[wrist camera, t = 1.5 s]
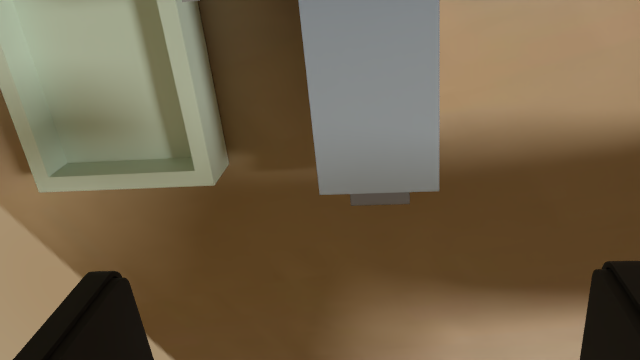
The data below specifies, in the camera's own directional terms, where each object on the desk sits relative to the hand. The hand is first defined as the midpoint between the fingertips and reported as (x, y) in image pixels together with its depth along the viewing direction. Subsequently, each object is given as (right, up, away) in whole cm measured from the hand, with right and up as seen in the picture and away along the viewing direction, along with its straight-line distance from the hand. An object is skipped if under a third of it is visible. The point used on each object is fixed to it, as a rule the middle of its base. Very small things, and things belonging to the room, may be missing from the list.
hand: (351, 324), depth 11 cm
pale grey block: (+2, +10, +12) cm, 16 cm away
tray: (-11, +11, +14) cm, 20 cm away
